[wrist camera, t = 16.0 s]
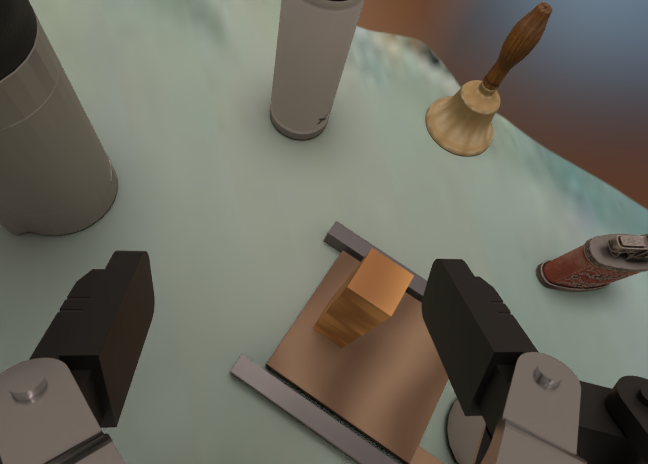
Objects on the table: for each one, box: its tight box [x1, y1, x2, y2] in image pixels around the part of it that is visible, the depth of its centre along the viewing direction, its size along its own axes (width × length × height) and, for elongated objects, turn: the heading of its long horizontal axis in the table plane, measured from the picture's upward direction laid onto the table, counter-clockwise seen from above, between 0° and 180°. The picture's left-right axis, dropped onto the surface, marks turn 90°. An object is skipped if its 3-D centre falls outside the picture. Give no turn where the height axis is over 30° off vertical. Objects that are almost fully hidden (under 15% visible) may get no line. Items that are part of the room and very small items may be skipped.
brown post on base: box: [266, 248, 448, 464], centre depth 30 cm, size 24×12×14 cm, turn 58°
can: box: [447, 399, 486, 464], centre depth 31 cm, size 8×8×12 cm
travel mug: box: [270, 0, 364, 140], centre depth 37 cm, size 6×7×20 cm
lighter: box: [536, 234, 648, 292], centre depth 40 cm, size 8×3×10 cm, turn 92°
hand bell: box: [426, 2, 552, 156], centre depth 42 cm, size 8×8×16 cm
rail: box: [230, 221, 427, 464], centre depth 36 cm, size 38×16×2 cm, turn 58°
